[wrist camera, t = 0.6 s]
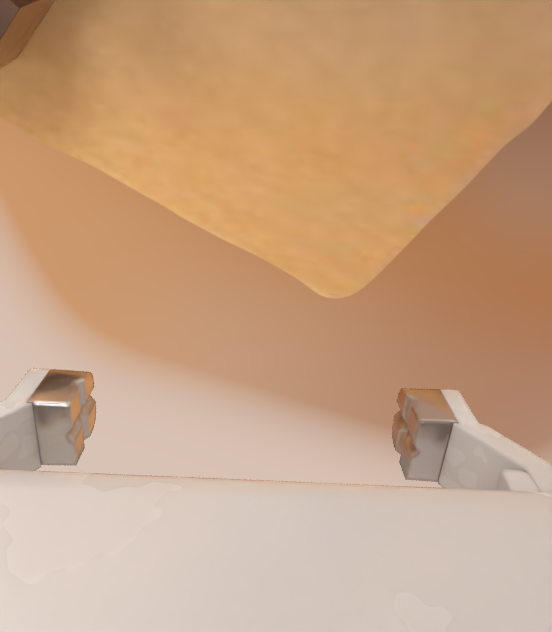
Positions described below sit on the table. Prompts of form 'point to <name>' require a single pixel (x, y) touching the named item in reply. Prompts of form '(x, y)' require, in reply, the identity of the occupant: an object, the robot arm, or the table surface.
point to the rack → (18, 25)
